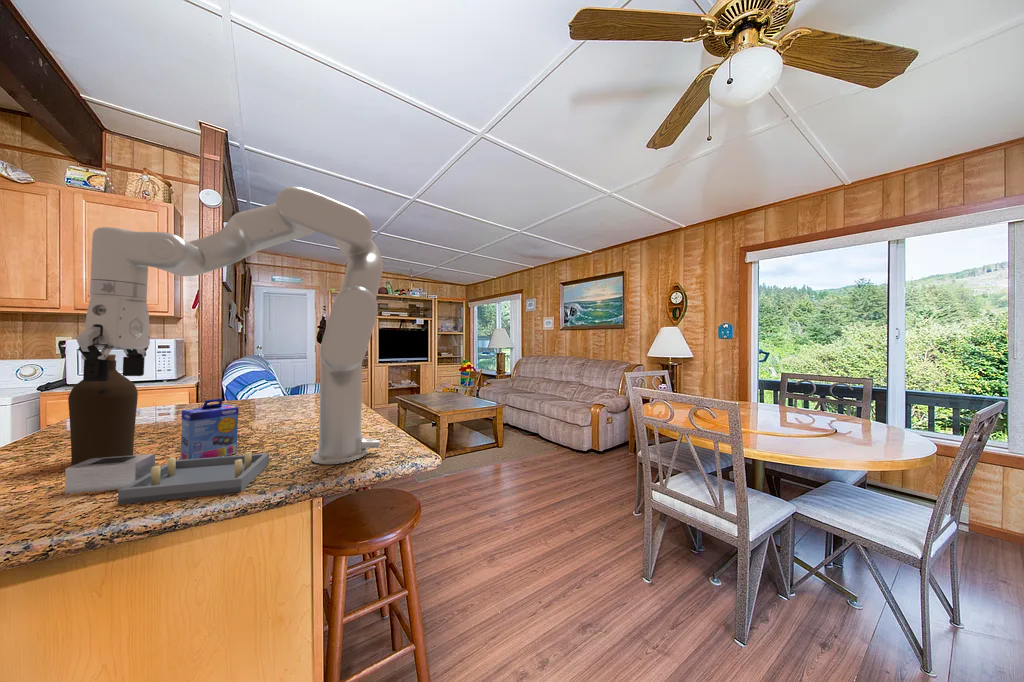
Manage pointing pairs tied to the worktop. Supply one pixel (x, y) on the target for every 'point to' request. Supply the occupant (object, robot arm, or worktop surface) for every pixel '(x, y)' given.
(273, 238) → the robot arm
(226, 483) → the pin tray
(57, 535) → the worktop surface
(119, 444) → the olive oil
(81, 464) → the grey rectangular block
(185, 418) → the ink cartridge box
